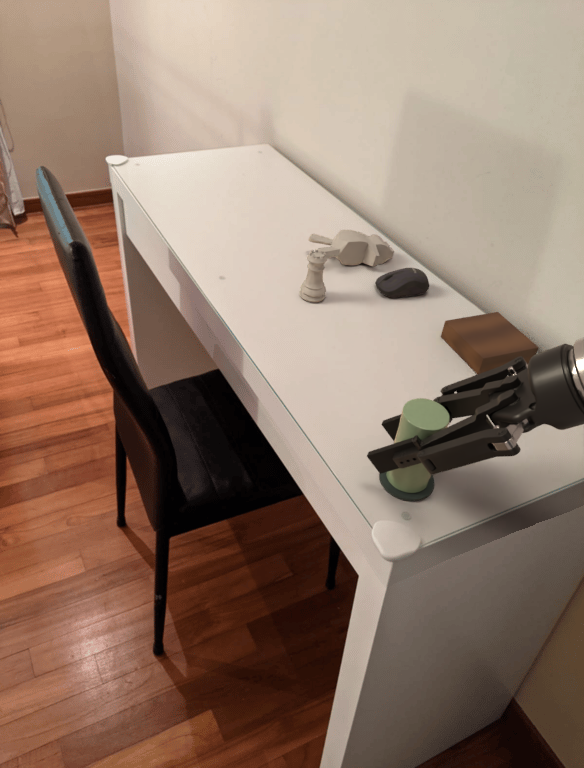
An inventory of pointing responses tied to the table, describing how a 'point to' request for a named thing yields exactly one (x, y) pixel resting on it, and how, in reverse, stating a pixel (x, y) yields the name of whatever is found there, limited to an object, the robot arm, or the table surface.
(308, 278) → the rook chess piece
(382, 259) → the bunny figurine
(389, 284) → the computer mouse
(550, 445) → the table surface
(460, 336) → the walnut platform
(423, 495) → the coaster
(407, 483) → the green round cylinder
